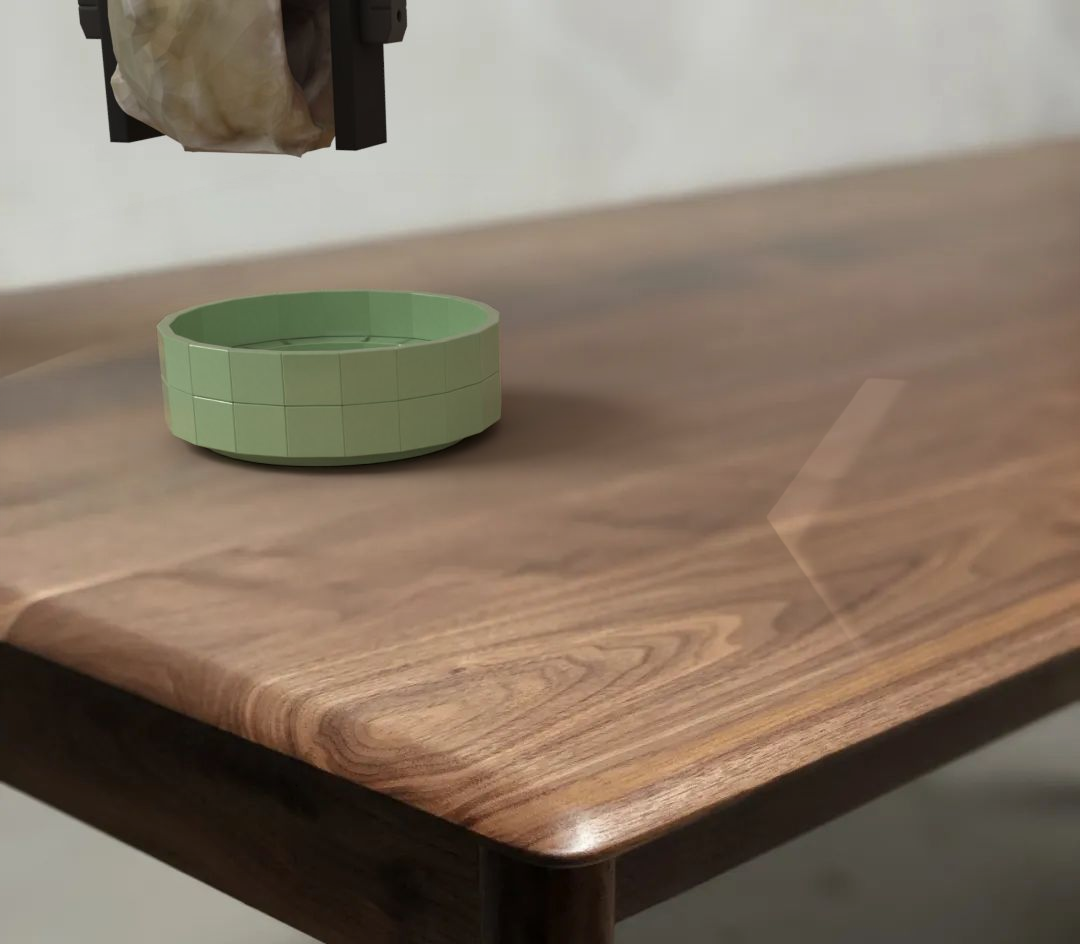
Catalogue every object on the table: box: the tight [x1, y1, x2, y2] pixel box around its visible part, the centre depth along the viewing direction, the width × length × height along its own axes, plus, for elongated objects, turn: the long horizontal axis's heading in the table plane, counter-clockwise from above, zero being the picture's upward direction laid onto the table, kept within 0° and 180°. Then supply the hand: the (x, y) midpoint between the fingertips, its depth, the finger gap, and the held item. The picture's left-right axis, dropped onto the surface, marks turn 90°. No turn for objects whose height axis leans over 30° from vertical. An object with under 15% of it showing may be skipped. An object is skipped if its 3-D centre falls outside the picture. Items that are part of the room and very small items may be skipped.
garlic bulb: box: [108, 0, 335, 159], centre depth 63 cm, size 9×8×10 cm
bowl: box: [156, 288, 503, 467], centre depth 89 cm, size 16×16×6 cm
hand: (248, 141), depth 65 cm, fingers closed on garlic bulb, 8 cm apart
